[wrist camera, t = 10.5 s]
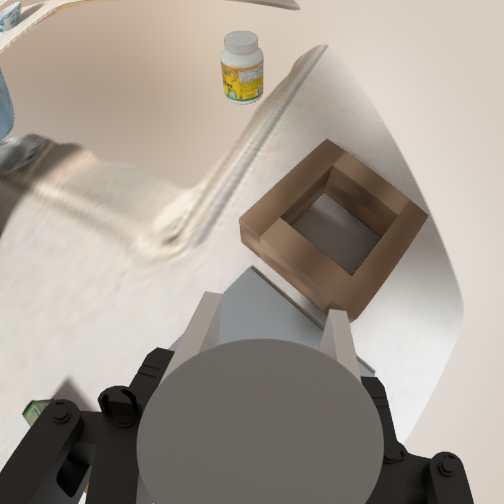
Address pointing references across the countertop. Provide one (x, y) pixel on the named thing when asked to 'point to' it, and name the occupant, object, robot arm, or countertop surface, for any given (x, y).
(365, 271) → the walnut box
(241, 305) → the grey mat
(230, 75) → the supplement bottle
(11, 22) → the chinaware
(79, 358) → the countertop surface
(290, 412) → the container
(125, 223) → the countertop surface
